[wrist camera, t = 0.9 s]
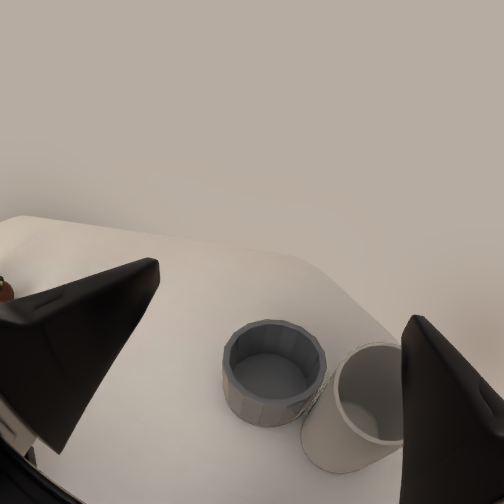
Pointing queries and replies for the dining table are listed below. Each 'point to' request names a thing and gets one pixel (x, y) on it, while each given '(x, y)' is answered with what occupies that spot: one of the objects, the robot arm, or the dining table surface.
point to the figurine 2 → (5, 291)
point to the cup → (357, 411)
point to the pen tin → (271, 372)
